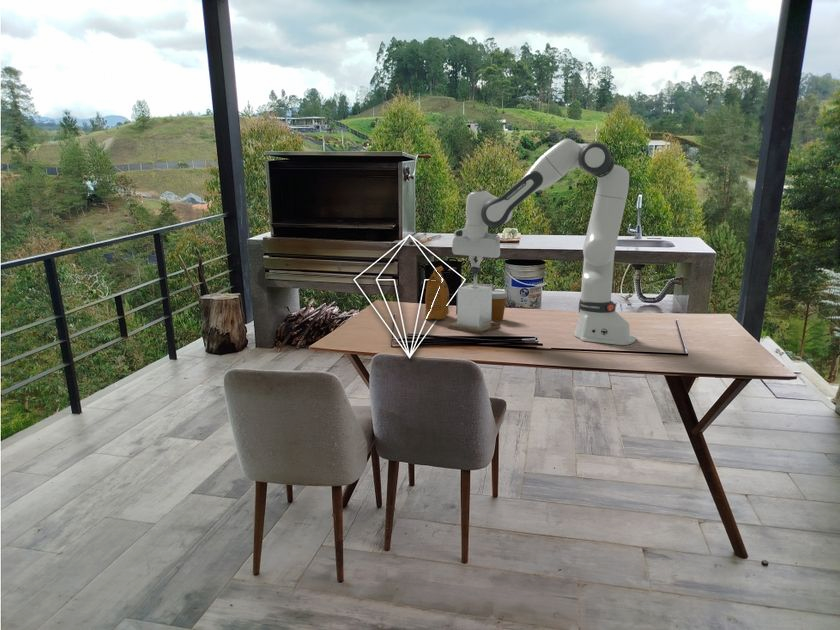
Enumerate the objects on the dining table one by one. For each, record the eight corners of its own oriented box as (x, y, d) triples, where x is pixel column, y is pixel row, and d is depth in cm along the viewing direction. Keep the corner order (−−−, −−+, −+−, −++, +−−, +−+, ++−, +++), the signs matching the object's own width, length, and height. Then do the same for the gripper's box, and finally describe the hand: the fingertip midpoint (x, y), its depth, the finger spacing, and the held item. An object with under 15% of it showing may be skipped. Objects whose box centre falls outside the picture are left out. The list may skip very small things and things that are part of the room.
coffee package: (452, 315, 266) (452, 266, 261) (444, 321, 254) (444, 270, 249) (430, 314, 269) (431, 265, 264) (421, 320, 257) (422, 269, 252)
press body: (499, 327, 245) (501, 287, 242) (482, 334, 234) (483, 292, 231) (465, 321, 254) (466, 283, 251) (447, 328, 243) (448, 287, 240)
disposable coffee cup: (495, 316, 265) (495, 289, 262) (511, 319, 258) (512, 292, 255) (479, 319, 259) (480, 291, 257) (495, 323, 252) (496, 294, 249)
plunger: (487, 312, 244) (488, 267, 240) (477, 315, 238) (479, 269, 234) (471, 310, 248) (472, 265, 244) (461, 313, 242) (462, 267, 238)
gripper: (503, 233, 232) (502, 268, 235) (458, 230, 244) (458, 264, 247) (496, 234, 227) (494, 270, 230) (450, 231, 239) (449, 266, 242)
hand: (475, 267), depth 239 cm, fingers closed, pressing on plunger
